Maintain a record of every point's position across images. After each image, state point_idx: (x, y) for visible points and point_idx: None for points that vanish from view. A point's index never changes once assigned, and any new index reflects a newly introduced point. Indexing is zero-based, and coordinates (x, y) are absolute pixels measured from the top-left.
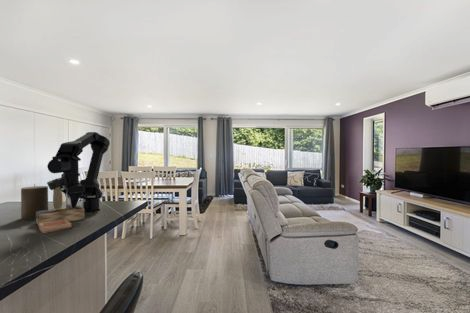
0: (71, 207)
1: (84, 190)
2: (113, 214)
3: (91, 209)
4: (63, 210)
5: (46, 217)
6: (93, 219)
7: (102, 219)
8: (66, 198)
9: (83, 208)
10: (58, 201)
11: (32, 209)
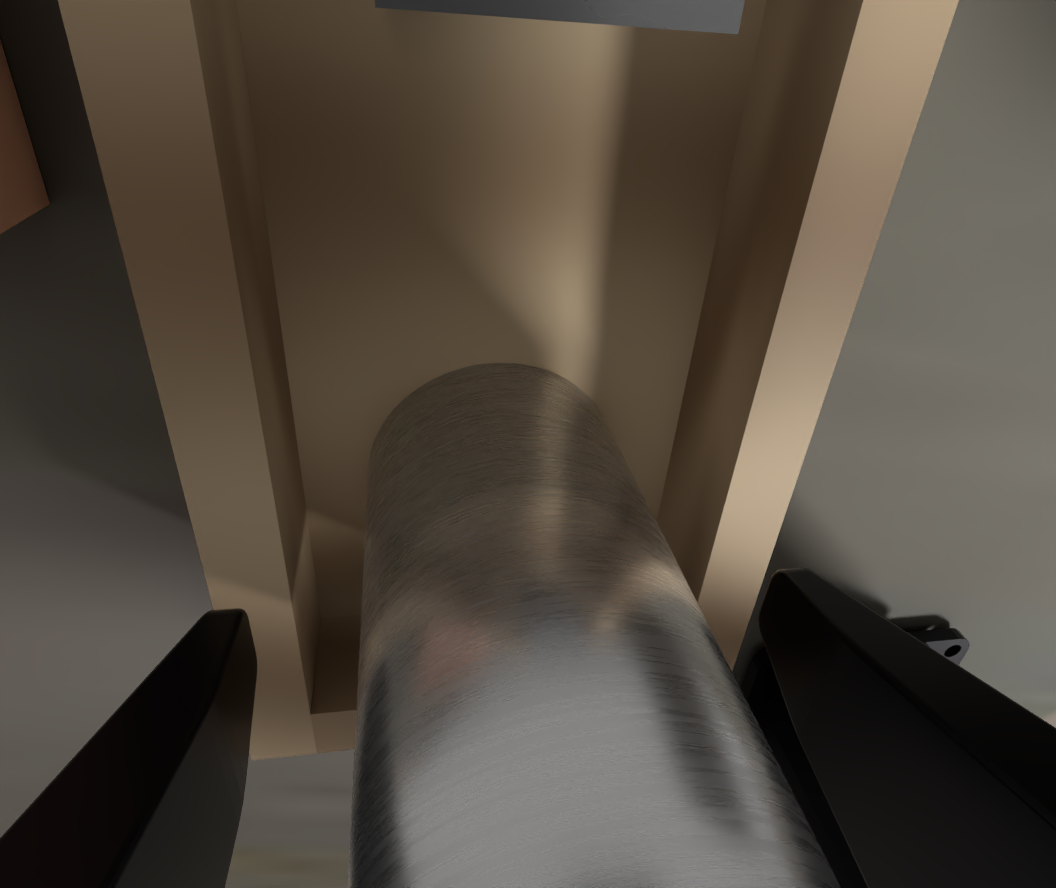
0: (368, 590)
1: None
2: (293, 859)
3: (763, 728)
4: (728, 364)
5: None
6: (114, 661)
7: (17, 750)
8: (577, 844)
9: (291, 750)
10: None
11: None
